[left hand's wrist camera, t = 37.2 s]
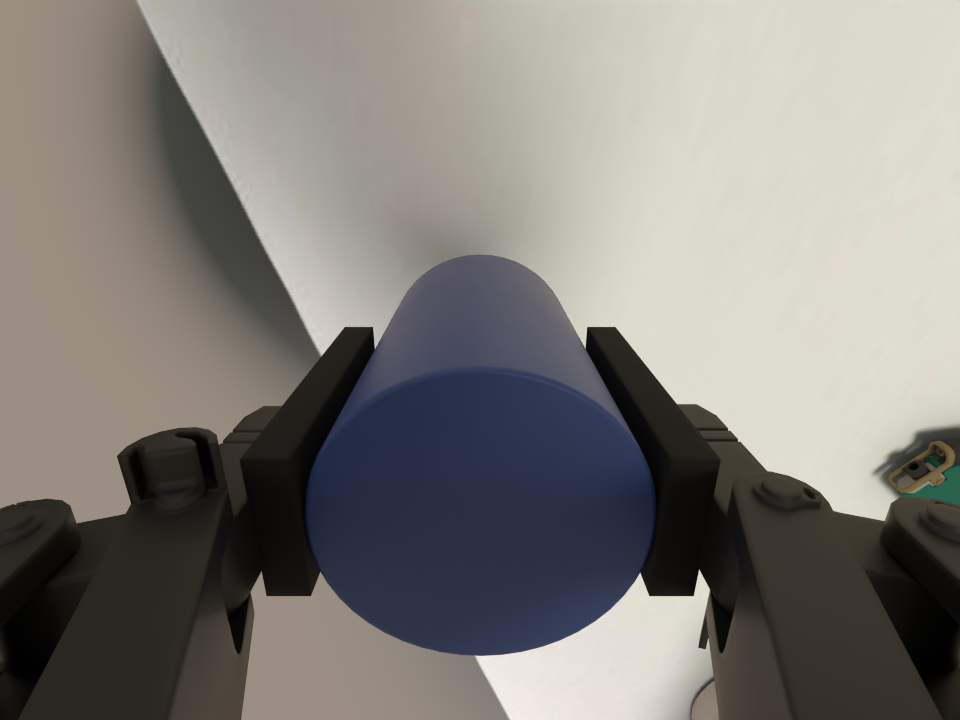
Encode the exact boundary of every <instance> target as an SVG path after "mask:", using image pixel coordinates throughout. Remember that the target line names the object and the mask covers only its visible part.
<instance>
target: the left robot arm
mask: <svg viewBox="0 0 960 720" xmlns="http://www.w3.org/2000/svg"><path fill="white" fill-rule="evenodd" d="M374 351H375V347H374V335H373V327H345V328H344V329H343V330H342V332H341V333H340V334H339V335H338V337H337V338H336V339H335V340H334V342H333V343H332V344H331V345H330V347H329V348H328V349H327V350H326V352H325V353H324V354H323V355H322V357H321V358H320V359H319V360H318V362H317V363H316V364H315V365H314V367H313V368H312V369H311V370H310V372H309V373H308V374H307V376H306V377H305V378H304V379H303V380H302V382H301V383H300V384H299V386H298V387H297V388H296V389H295V391H294V392H293V393H292V394H291V396H290V397H289V398H288V399H287V401H286V402H285V403H284V404H283V406H263V407H262V408H260V409H258V410H256V411H255V412H253V413H251V414H249V415H248V416H246V417H244V418H243V420H242V421H241V422H240V423H239V424H238V425H237V426H236V427H235V428H234V429H233V433H230V434H229V435H228V436H227V437H226V438H225V439H224V440H223V444H220V445H219V444H218V440H217V435H216V434H214V433H213V432H212V431H210V430H208V429H202V428H197V427H192V428H177V429H172V430H167V431H162V432H158V433H156V434H153V435H150V436H147V437H144V438H142V439H140V440H138V441H136V442H134V443H133V444H131V445H129V446H127V447H126V448H125V449H124V450H123V451H122V452H121V453H120V454H119V455H118V456H117V458H118V461H119V464H120V468H121V471H122V474H123V478H124V481H125V484H126V488H127V491H128V494H129V497H130V501H131V505H130V507H129V509H128V511H127V513H126V514H123V515H118V516H113V517H108V518H103V519H98V520H92V521H87V522H82V523H77V524H76V521H75V518H74V515H73V512H72V510H71V507H70V505H68V504H67V503H65V502H64V501H62V500H54V499H42V500H35V501H25V502H21V503H17V505H14V504H13V505H10V506H7V507H4V508H1V509H0V720H241V715H242V707H243V699H244V691H245V684H246V675H247V668H248V660H249V652H250V644H251V636H252V629H253V621H254V609H253V603H252V598H251V593H250V592H251V590H252V588H253V586H254V584H255V582H256V580H257V578H258V577H259V575H260V573H261V571H262V575H263V580H264V585H265V590H266V595H267V596H311V594H312V592H313V589H314V587H315V584H316V581H317V579H318V576H319V573H320V570H319V568H318V566H317V564H316V561H315V559H314V556H313V554H312V552H311V549H310V545H309V541H308V537H307V533H306V525H305V513H304V507H305V494H306V488H307V484H308V480H309V476H310V472H311V469H312V467H313V465H314V462H315V460H316V458H317V455H318V453H319V451H320V449H321V448H322V446H323V444H324V442H325V440H326V438H327V437H328V435H329V433H330V431H331V429H332V427H333V426H334V424H335V422H336V420H337V418H338V416H339V415H340V413H341V411H342V409H343V407H344V405H345V404H346V402H347V400H348V398H349V396H350V394H351V393H352V391H353V389H354V387H355V385H356V384H357V382H358V380H359V378H360V376H361V374H362V373H363V371H364V369H365V367H366V365H367V363H368V362H369V360H370V358H371V356H372V354H373V352H374ZM586 351H587V353H588V355H589V356H590V358H591V360H592V362H593V364H594V365H595V367H596V369H597V371H598V373H599V374H600V376H601V378H602V380H603V382H604V384H605V385H606V387H607V389H608V391H609V393H610V394H611V396H612V398H613V400H614V402H615V403H616V405H617V407H618V409H619V411H620V413H621V414H622V416H623V418H624V420H625V422H626V423H627V425H628V427H629V429H630V431H631V432H632V434H633V436H634V438H635V440H636V441H637V443H638V445H639V447H640V449H641V451H642V453H643V455H644V457H645V459H646V462H647V464H648V466H649V468H650V471H651V475H652V479H653V483H654V486H655V493H656V503H657V515H656V528H655V533H654V537H653V542H652V546H651V549H650V552H649V554H648V557H647V559H646V562H645V564H644V566H643V568H642V570H641V571H640V573H641V575H642V578H643V580H644V583H645V586H646V588H647V591H648V593H649V596H694V592H695V587H696V582H697V577H698V572H699V569H700V571H701V573H702V575H703V577H704V579H705V581H706V583H707V585H708V586H709V588H710V593H709V598H708V602H707V607H706V612H705V616H704V621H703V626H702V630H701V635H700V641H699V648H703V649H706V645H707V641H708V638H709V643H710V651H711V659H712V666H713V674H714V682H715V690H716V698H717V706H718V714H719V720H960V506H959V505H956V504H953V503H950V502H947V503H946V502H945V501H943V500H938V499H933V498H932V499H929V498H922V497H904V498H899V499H897V500H896V501H894V502H893V503H891V505H890V508H889V511H888V514H887V517H886V519H885V521H880V520H875V519H870V518H865V517H859V516H854V515H849V514H844V513H839V512H835V511H833V510H832V508H831V506H830V504H829V502H828V501H827V500H826V499H825V498H824V497H823V495H822V494H821V493H820V492H819V491H817V490H815V489H814V488H812V487H811V486H809V485H808V484H806V483H804V482H802V481H800V480H797V479H795V478H792V477H790V476H787V475H783V474H779V473H774V472H768V471H767V470H766V469H765V468H764V467H763V466H762V465H761V464H760V463H759V462H758V461H757V460H756V458H755V457H754V456H753V455H752V454H751V453H750V452H749V451H748V450H747V449H746V448H745V446H744V445H743V444H742V443H741V442H738V439H737V438H736V437H735V436H734V434H733V433H732V432H731V431H728V428H727V427H726V426H725V425H724V423H723V422H722V421H721V420H720V419H719V418H718V417H717V416H716V415H714V414H713V413H711V412H709V411H707V410H706V409H704V408H702V407H700V406H699V405H697V404H676V403H675V401H674V400H673V399H672V398H671V396H670V395H669V394H668V393H667V391H666V390H665V389H664V388H663V386H662V385H661V384H660V383H659V381H658V380H657V379H656V378H655V376H654V375H653V374H652V373H651V371H650V370H649V369H648V367H647V366H646V365H645V364H644V362H643V361H642V360H641V359H640V357H639V356H638V355H637V354H636V352H635V351H634V350H633V349H632V347H631V346H630V345H629V344H628V342H627V341H626V340H625V339H624V337H623V336H622V335H621V334H620V332H619V331H618V330H617V329H616V327H587V339H586Z"/></svg>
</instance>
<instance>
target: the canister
mask: <svg viewBox="0 0 960 720" xmlns="http://www.w3.org/2000/svg"><path fill="white" fill-rule="evenodd" d="M304 513H305V525H306V533H307V537H308V541H309V545H310V549H311V552H312V554H313V556H314V559H315V561H316V564H317V566H318V568H319V570H320V571H321V573H322V575H323V576H324V578H325V580H326V581H327V583H328V584H329V586H330V587H331V588H332V589H333V591H334V592H335V593H336V594H337V596H338V597H339V598H340V599H341V600H342V601H343V602H344V603H345V604H346V605H347V606H348V607H349V608H350V609H351V610H352V611H354V612H355V613H356V614H357V615H359V616H360V617H361V618H363V619H364V620H365V621H367V622H368V623H370V624H371V625H373V626H375V627H376V628H378V629H380V630H381V631H383V632H385V633H387V634H389V635H391V636H393V637H395V638H398V639H400V640H402V641H405V642H407V643H410V644H413V645H416V646H419V647H422V648H426V649H431V650H435V651H439V652H444V653H452V654H459V655H477V656H486V655H503V654H510V653H516V652H523V651H527V650H531V649H535V648H539V647H542V646H545V645H548V644H551V643H554V642H556V641H559V640H562V639H564V638H566V637H568V636H570V635H572V634H574V633H576V632H578V631H580V630H582V629H583V628H585V627H586V626H588V625H590V624H591V623H593V622H595V621H596V620H597V619H598V618H600V617H601V616H602V615H604V614H605V613H606V612H607V611H609V610H610V609H611V608H612V607H613V606H614V605H615V604H616V603H617V602H618V601H619V600H620V599H621V598H622V597H623V596H624V595H625V593H626V592H627V591H628V589H629V588H630V587H631V586H632V584H633V583H634V582H635V580H636V578H637V577H638V575H639V573H640V571H641V570H642V568H643V566H644V564H645V562H646V559H647V557H648V554H649V552H650V549H651V546H652V542H653V537H654V533H655V528H656V515H657V503H656V493H655V486H654V483H653V479H652V475H651V471H650V468H649V466H648V464H647V462H646V459H645V457H644V455H643V453H642V451H641V449H640V447H639V445H638V443H637V441H636V440H635V438H634V436H633V434H632V432H631V431H630V429H629V427H628V425H627V423H626V422H625V420H624V418H623V416H622V414H621V413H620V411H619V409H618V407H617V405H616V403H615V402H614V400H613V398H612V396H611V394H610V393H609V391H608V389H607V387H606V385H605V384H604V382H603V380H602V378H601V376H600V374H599V373H598V371H597V369H596V367H595V365H594V364H593V362H592V360H591V358H590V356H589V355H588V353H587V351H586V349H585V347H584V346H583V344H582V342H581V340H580V338H579V336H578V335H577V333H576V331H575V329H574V327H573V326H572V324H571V322H570V320H569V318H568V317H567V315H566V313H565V311H564V309H563V308H562V306H561V304H560V302H559V300H558V299H557V297H556V295H555V294H554V292H553V291H552V289H551V288H550V287H549V286H548V285H547V284H546V282H545V281H544V280H543V279H541V278H540V277H539V276H538V275H537V274H536V273H534V272H533V271H531V270H530V269H528V268H527V267H525V266H523V265H521V264H519V263H517V262H515V261H512V260H509V259H506V258H502V257H497V256H492V255H470V256H464V257H459V258H455V259H452V260H449V261H446V262H443V263H441V264H440V265H438V266H436V267H434V268H432V269H431V270H429V271H428V272H426V273H425V274H424V275H422V276H421V277H420V278H419V279H418V280H417V281H416V282H415V283H414V284H413V285H412V287H411V288H410V289H409V290H408V291H407V293H406V295H405V296H404V298H403V300H402V301H401V303H400V305H399V307H398V309H397V310H396V312H395V314H394V316H393V318H392V320H391V321H390V323H389V325H388V327H387V329H386V330H385V332H384V334H383V336H382V338H381V340H380V341H379V343H378V345H377V347H376V349H375V351H374V352H373V354H372V356H371V358H370V360H369V362H368V363H367V365H366V367H365V369H364V371H363V373H362V374H361V376H360V378H359V380H358V382H357V384H356V385H355V387H354V389H353V391H352V393H351V394H350V396H349V398H348V400H347V402H346V404H345V405H344V407H343V409H342V411H341V413H340V415H339V416H338V418H337V420H336V422H335V424H334V426H333V427H332V429H331V431H330V433H329V435H328V437H327V438H326V440H325V442H324V444H323V446H322V448H321V449H320V451H319V453H318V455H317V458H316V460H315V462H314V465H313V467H312V469H311V472H310V476H309V480H308V484H307V488H306V494H305V507H304Z"/></svg>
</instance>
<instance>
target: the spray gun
mask: <svg viewBox="0 0 960 720" xmlns="http://www.w3.org/2000/svg"><path fill="white" fill-rule="evenodd" d="M936 446H938V447H939V448H938V449H937V453H938V455H940V457H927V456H929V455H931V454H932V453H934V451H935V448H936ZM926 457H927V458H926ZM924 458H926V459H925V461H926V463H924V462H923V459H924ZM904 471H906V472H907V475H905V476H903V477H902V478H900V479H899V480H898V482H897V484H895V483H894V479H895V478H896V477H897V476H898V475H900V474H901V473H903V472H904ZM888 481H889V483H890V484H891V485H892V486H893V487H894V488H895V489H896V490H897V491H898V492H899V493H900V494H901V495H902V496H903V498H904V497H922V498H929V499H932V498H933V499H938V500H943V501H945V502H946V503H947V502H950V503H953V504H956V505H959V506H960V439H952V440H943V441H933V442H930V444H929V446H928V449H927V450H926V451H924V452H923V453H921V454H920V455H918V456H916V457H915V458H913V459H912V460H910V461H909V462H907V463H906V464H904V465H903V466H901V467H900V468H898V469H896V470H895V471H893V472H892V473H891V474H890V475H889V476H888Z"/></svg>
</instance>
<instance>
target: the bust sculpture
mask: <svg viewBox="0 0 960 720" xmlns="http://www.w3.org/2000/svg"><path fill="white" fill-rule="evenodd" d="M691 719H692V720H719V714H718V706H717V698H716V690H715V682H714V681H713V682H711V683H710V684H709V685H708V686H707V687H706V688H705V689H704V690H703V691H702V692H701V693H700V694H699V696H698V697H697V699H696V700H695V703H694V705H693V708H692V713H691Z"/></svg>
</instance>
